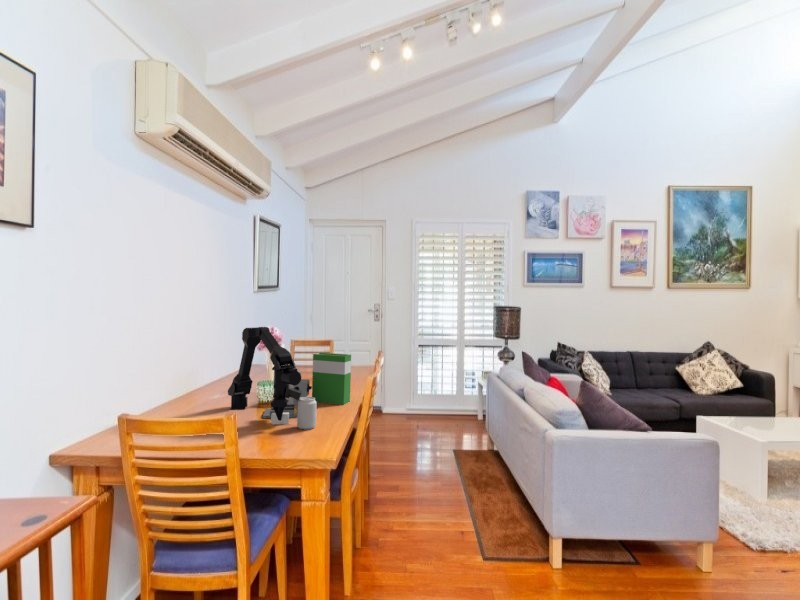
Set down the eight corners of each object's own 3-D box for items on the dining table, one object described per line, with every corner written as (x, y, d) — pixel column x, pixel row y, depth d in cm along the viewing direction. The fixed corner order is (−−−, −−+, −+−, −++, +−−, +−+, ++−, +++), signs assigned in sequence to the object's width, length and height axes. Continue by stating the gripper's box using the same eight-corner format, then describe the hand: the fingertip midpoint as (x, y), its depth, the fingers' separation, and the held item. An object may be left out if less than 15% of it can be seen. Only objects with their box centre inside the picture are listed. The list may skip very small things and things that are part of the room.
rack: (262, 418, 193) (262, 411, 193) (265, 410, 206) (266, 404, 206) (300, 417, 196) (300, 410, 196) (301, 410, 209) (301, 403, 209)
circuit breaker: (309, 405, 219) (309, 374, 219) (279, 404, 219) (280, 373, 219) (312, 401, 226) (313, 372, 226) (284, 400, 227) (285, 371, 227)
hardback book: (311, 401, 227) (313, 354, 227) (318, 398, 234) (320, 352, 234) (343, 404, 221) (345, 356, 221) (349, 401, 229) (351, 354, 228)
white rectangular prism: (271, 424, 185) (271, 414, 185) (271, 422, 188) (271, 412, 188) (288, 423, 186) (288, 414, 186) (288, 421, 189) (289, 412, 189)
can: (299, 431, 176) (300, 400, 176) (294, 426, 183) (295, 396, 183) (318, 429, 180) (319, 399, 180) (312, 424, 186) (313, 395, 186)
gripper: (300, 386, 179) (299, 425, 179) (301, 377, 197) (300, 413, 197) (271, 386, 177) (270, 425, 177) (275, 378, 195) (274, 413, 195)
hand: (280, 419), depth 187 cm, fingers closed on white rectangular prism, 3 cm apart
